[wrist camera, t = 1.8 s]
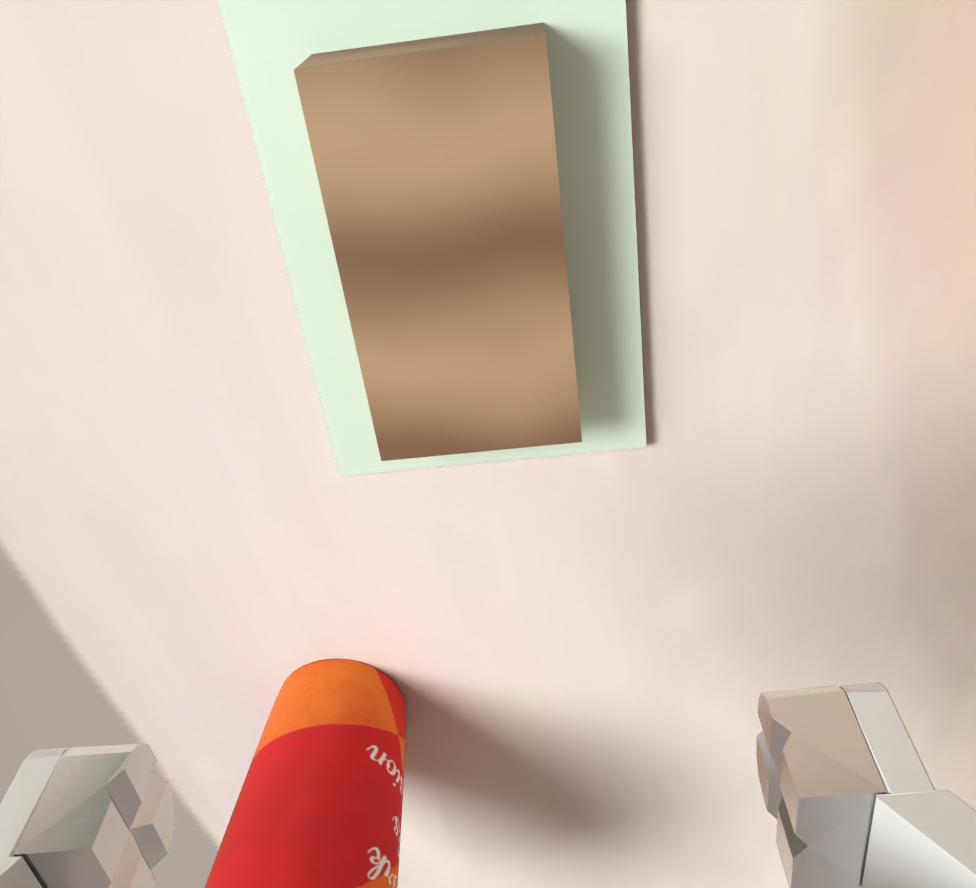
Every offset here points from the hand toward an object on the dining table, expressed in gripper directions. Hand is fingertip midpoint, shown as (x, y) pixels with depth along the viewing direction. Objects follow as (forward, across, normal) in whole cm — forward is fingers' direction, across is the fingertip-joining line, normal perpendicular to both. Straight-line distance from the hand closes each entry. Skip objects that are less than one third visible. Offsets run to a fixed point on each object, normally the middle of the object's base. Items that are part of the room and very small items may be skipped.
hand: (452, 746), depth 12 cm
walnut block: (+19, +1, 0) cm, 19 cm away
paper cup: (+20, +8, +20) cm, 29 cm away
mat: (+20, +1, 0) cm, 20 cm away
